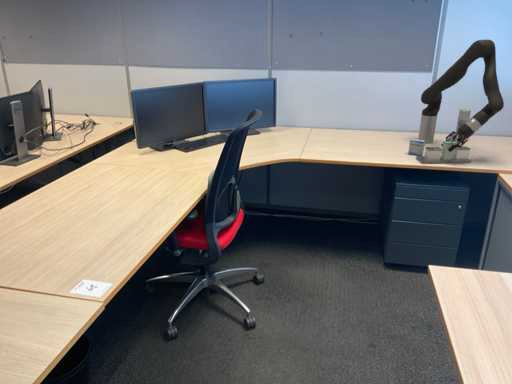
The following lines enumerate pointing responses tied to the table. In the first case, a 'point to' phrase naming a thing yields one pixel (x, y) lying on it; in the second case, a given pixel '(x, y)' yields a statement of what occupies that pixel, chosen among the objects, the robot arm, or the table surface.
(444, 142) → the module
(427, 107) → the robot arm
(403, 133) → the table surface
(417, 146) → the medicine box
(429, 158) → the grey notched block
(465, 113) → the spray paint can
